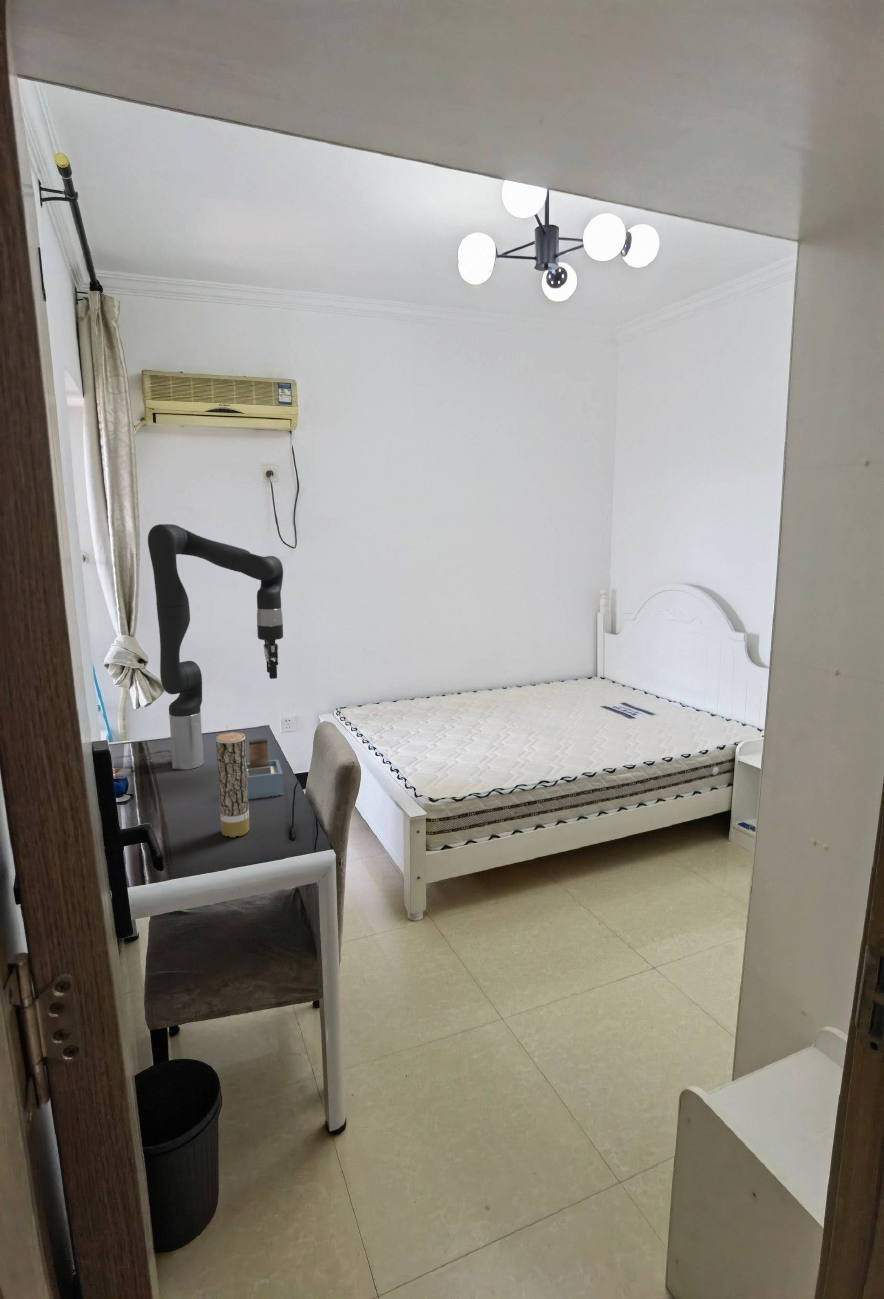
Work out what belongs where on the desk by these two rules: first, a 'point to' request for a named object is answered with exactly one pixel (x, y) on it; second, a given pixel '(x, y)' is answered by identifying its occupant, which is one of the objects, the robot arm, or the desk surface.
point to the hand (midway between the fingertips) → (272, 675)
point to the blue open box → (265, 780)
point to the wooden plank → (258, 753)
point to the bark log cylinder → (232, 784)
